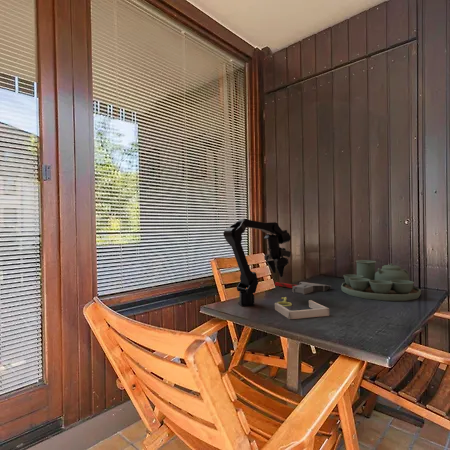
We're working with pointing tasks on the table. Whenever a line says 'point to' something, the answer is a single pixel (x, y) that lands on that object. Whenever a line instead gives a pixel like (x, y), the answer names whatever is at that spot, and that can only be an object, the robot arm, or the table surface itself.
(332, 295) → the table surface
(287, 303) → the key
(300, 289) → the toy hammer
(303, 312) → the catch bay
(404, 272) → the tea set
